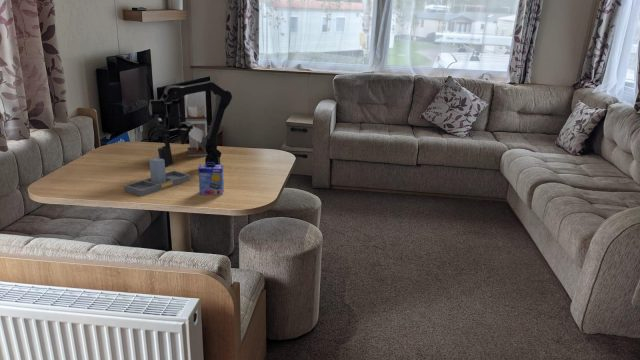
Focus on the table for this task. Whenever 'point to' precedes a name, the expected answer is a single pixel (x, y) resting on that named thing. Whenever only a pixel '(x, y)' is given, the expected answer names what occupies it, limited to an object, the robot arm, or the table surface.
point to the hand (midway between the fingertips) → (175, 146)
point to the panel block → (157, 170)
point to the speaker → (166, 155)
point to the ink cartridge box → (211, 179)
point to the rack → (149, 187)
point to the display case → (196, 121)
